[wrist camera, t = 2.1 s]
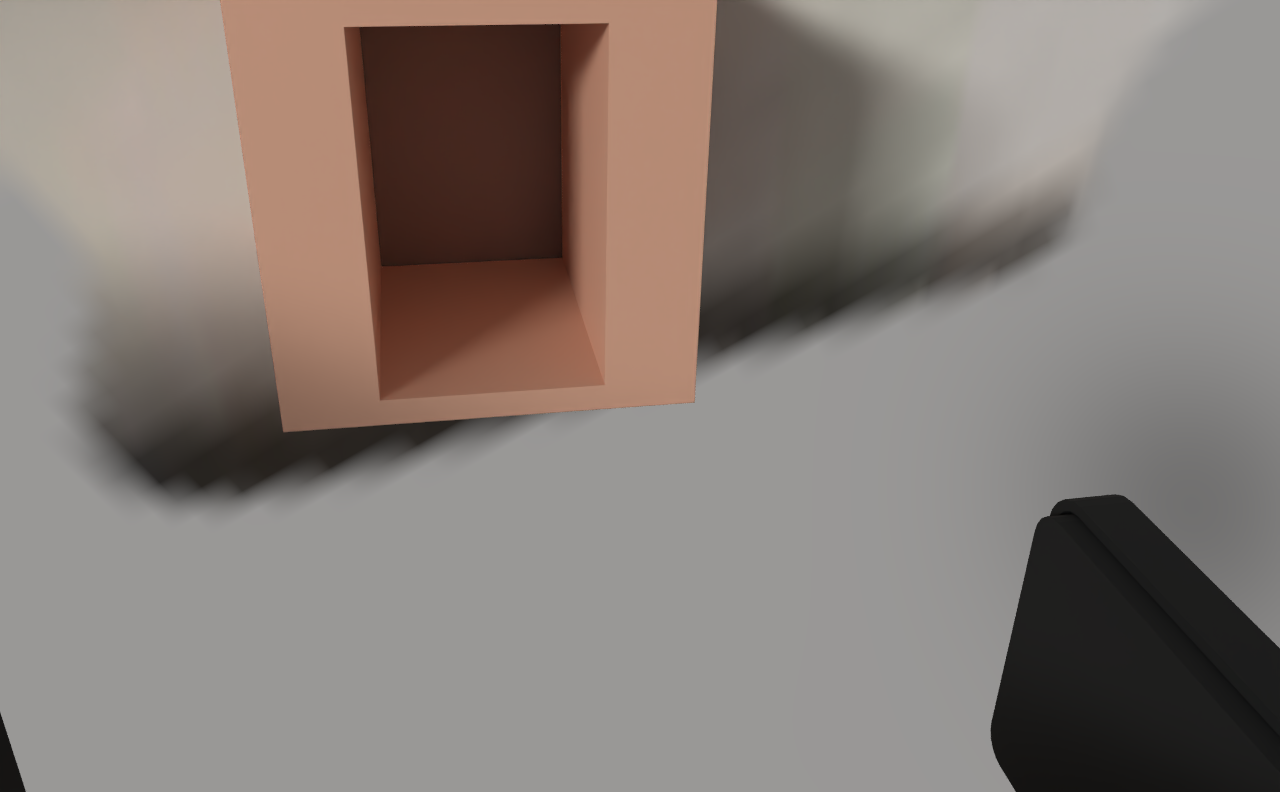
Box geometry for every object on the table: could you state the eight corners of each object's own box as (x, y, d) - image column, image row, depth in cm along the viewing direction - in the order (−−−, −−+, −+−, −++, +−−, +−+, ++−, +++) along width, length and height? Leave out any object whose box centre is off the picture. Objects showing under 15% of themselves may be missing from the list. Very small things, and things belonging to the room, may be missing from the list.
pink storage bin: (258, -69, 22) (219, -8, 17) (644, -69, 23) (718, -11, 18) (303, 291, 26) (283, 431, 20) (636, 274, 27) (694, 402, 22)
